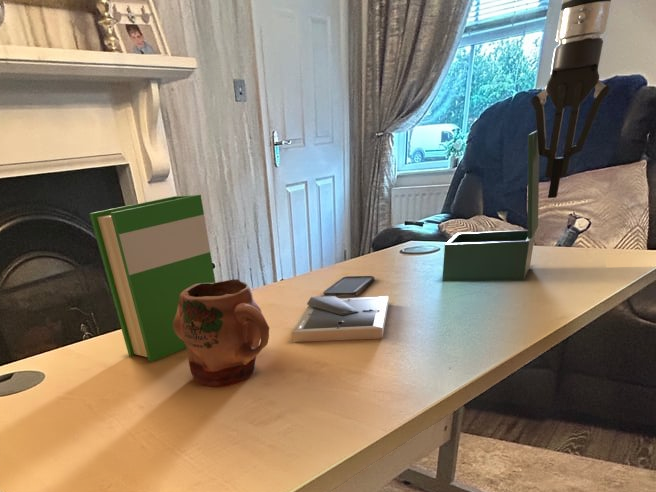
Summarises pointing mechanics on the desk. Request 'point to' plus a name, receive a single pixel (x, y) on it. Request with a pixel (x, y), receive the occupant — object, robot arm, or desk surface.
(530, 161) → the lid
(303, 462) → the desk surface
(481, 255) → the box
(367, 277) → the phone
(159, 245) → the hardback book
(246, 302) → the terracotta mug
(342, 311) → the picture frame
